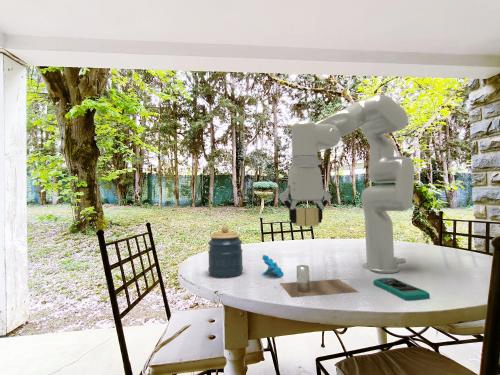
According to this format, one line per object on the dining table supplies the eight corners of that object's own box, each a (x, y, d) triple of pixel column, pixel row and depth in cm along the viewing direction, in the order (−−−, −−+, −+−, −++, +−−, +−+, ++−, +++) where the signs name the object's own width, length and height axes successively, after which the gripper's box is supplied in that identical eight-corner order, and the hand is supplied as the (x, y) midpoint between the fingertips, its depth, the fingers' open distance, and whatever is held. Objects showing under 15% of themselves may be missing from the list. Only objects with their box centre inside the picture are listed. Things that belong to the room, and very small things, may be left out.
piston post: (307, 288, 85) (306, 264, 85) (311, 292, 81) (310, 267, 81) (295, 289, 84) (294, 265, 84) (299, 293, 80) (298, 268, 81)
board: (338, 281, 93) (338, 279, 93) (359, 294, 80) (359, 291, 80) (279, 285, 90) (279, 283, 90) (291, 299, 77) (291, 297, 77)
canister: (248, 270, 109) (247, 225, 110) (232, 279, 97) (231, 228, 98) (219, 268, 115) (219, 224, 115) (201, 276, 103) (200, 227, 104)
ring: (313, 223, 88) (312, 207, 88) (322, 225, 81) (321, 208, 81) (291, 224, 87) (290, 208, 87) (298, 226, 80) (298, 208, 80)
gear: (282, 276, 94) (261, 254, 97) (269, 288, 95) (250, 266, 98) (287, 272, 104) (269, 252, 108) (276, 283, 105) (258, 263, 108)
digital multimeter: (393, 285, 88) (392, 276, 89) (431, 302, 74) (430, 291, 74) (372, 287, 87) (371, 278, 87) (406, 305, 73) (406, 293, 73)
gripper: (326, 165, 90) (328, 221, 89) (273, 164, 87) (274, 222, 87) (337, 162, 83) (339, 223, 82) (280, 161, 80) (280, 224, 79)
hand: (306, 222), depth 84 cm, fingers closed on ring, 7 cm apart
